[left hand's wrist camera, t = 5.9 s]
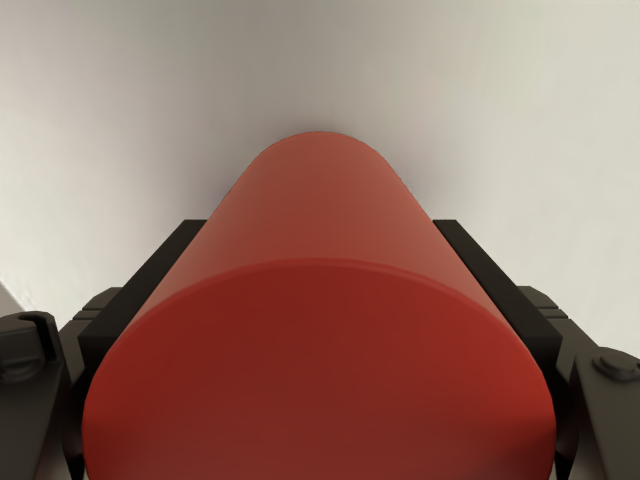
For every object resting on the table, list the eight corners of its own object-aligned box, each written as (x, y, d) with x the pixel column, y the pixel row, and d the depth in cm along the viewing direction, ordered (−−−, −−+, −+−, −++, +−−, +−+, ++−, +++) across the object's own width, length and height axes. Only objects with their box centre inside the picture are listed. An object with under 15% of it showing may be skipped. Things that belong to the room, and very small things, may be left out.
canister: (421, 273, 19) (572, 576, 7) (265, 312, 19) (190, 639, 8) (385, 108, 16) (537, 192, 5) (206, 160, 17) (-22, 337, 6)
